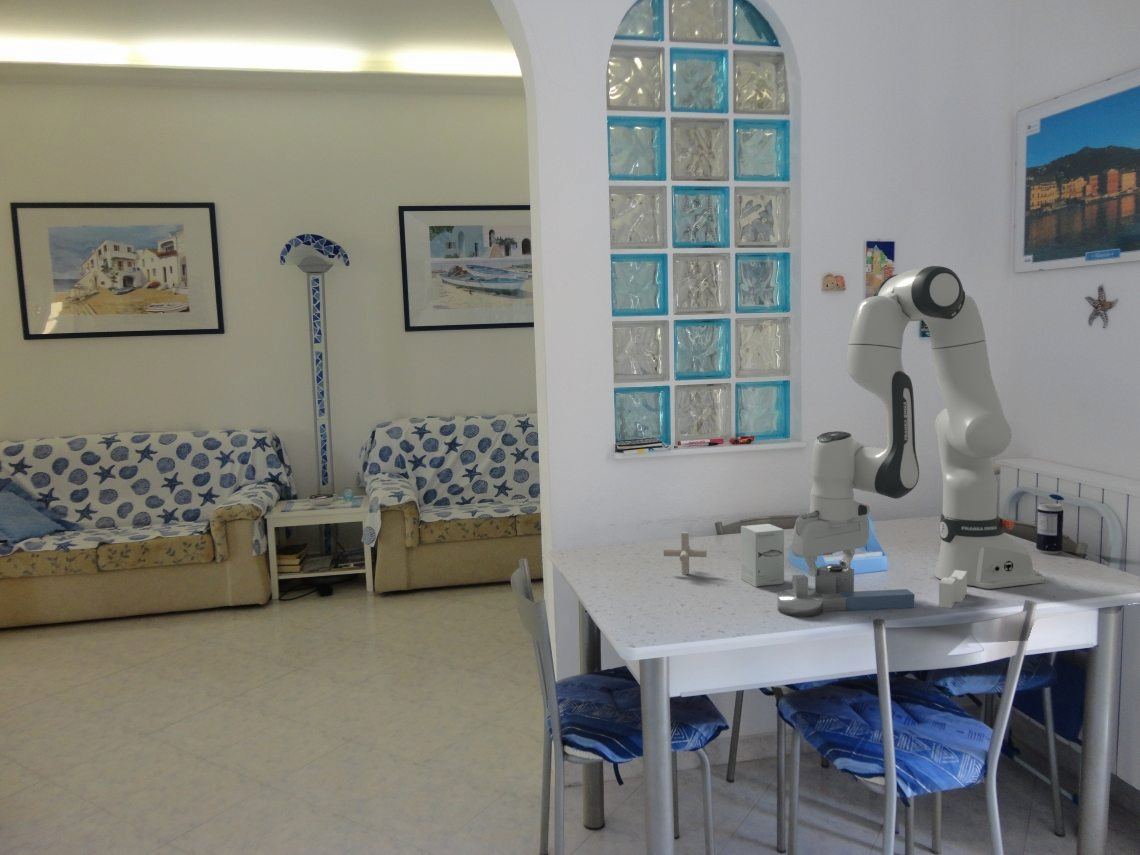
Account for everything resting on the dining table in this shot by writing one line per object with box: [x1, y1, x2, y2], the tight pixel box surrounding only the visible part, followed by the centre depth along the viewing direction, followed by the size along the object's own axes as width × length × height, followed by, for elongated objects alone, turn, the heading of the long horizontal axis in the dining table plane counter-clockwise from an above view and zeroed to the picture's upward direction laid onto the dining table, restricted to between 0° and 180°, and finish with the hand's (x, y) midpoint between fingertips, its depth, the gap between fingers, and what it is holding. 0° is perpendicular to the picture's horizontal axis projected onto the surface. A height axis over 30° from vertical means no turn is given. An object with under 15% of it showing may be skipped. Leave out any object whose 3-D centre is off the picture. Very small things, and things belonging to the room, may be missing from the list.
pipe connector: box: [663, 531, 708, 576], centre depth 206 cm, size 10×10×10 cm
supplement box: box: [740, 523, 785, 588], centre depth 198 cm, size 7×7×13 cm
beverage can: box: [1035, 502, 1064, 555], centre depth 216 cm, size 6×6×12 cm
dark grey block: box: [814, 563, 855, 594], centre depth 186 cm, size 6×6×7 cm
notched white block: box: [938, 570, 968, 609], centre depth 182 cm, size 15×11×6 cm
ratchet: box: [777, 574, 916, 618], centre depth 178 cm, size 28×9×7 cm, turn 93°
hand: (829, 572), depth 187 cm, fingers open, 8 cm apart
